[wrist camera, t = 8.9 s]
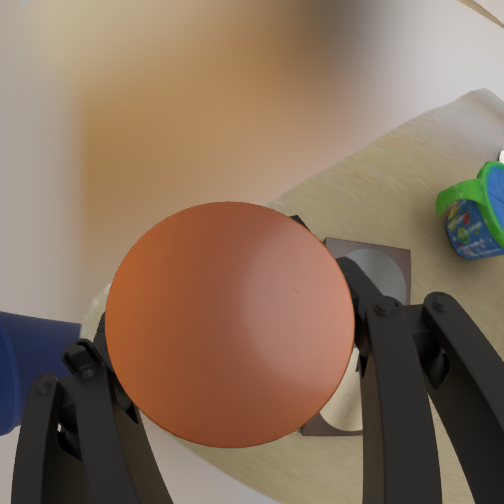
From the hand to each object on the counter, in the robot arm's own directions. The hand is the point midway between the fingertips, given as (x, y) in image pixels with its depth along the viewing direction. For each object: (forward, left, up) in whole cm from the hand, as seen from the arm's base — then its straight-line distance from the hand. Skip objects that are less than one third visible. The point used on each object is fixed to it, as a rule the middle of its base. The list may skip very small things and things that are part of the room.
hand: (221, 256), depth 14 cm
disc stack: (+1, -3, -6) cm, 7 cm away
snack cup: (+28, +11, -15) cm, 34 cm away
